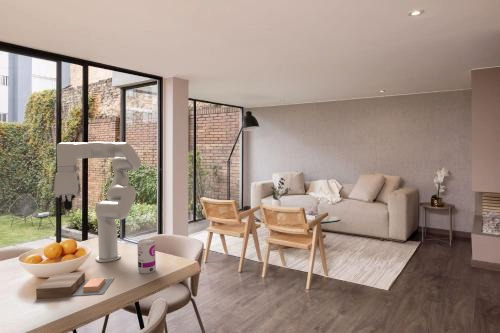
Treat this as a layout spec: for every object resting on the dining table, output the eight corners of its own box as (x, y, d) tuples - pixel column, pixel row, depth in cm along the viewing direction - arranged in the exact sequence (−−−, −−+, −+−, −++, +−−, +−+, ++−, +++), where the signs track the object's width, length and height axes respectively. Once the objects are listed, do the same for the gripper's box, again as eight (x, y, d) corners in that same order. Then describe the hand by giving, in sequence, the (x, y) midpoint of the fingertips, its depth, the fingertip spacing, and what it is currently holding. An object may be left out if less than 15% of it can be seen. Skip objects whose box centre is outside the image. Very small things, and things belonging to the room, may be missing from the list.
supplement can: (158, 268, 164) (158, 239, 163) (149, 275, 156) (148, 243, 155) (144, 267, 166) (143, 238, 165) (134, 273, 158) (133, 242, 157)
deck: (54, 282, 148) (54, 273, 147) (85, 280, 150) (84, 272, 149) (36, 298, 132) (36, 288, 132) (70, 296, 134) (70, 286, 133)
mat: (86, 280, 150) (86, 280, 150) (113, 279, 151) (113, 278, 151) (72, 296, 134) (72, 295, 134) (103, 294, 135) (103, 293, 135)
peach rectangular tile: (104, 277, 147) (105, 282, 147) (90, 278, 146) (91, 283, 146) (98, 286, 138) (98, 290, 138) (83, 287, 137) (83, 291, 137)
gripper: (87, 169, 155) (88, 207, 156) (53, 169, 153) (54, 208, 154) (81, 170, 148) (82, 210, 149) (45, 170, 146) (47, 211, 147)
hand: (68, 209), depth 152 cm, fingers closed
